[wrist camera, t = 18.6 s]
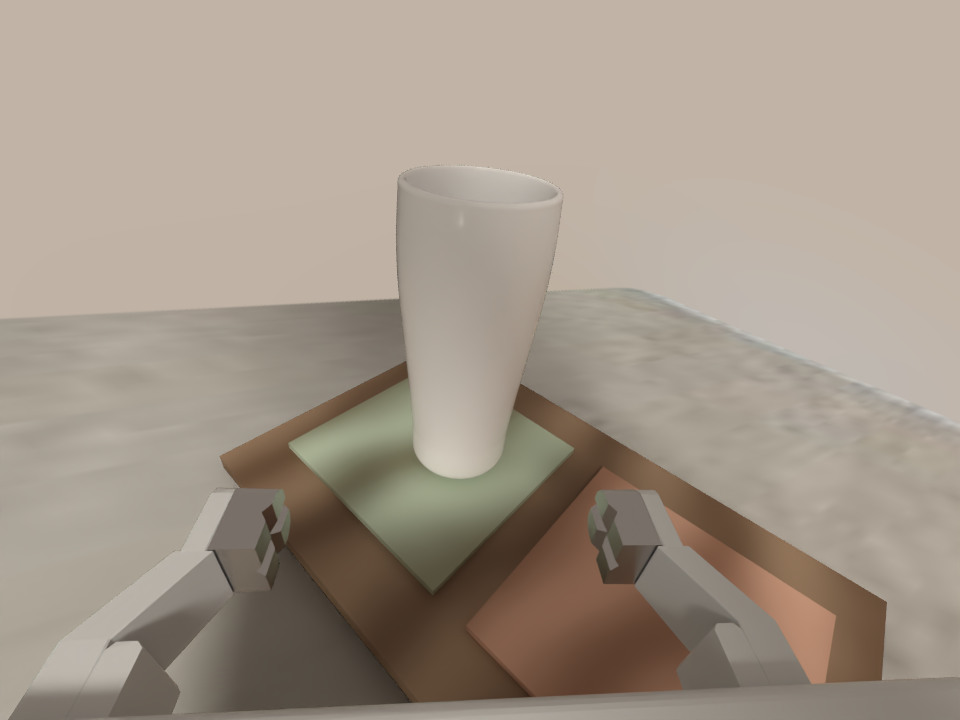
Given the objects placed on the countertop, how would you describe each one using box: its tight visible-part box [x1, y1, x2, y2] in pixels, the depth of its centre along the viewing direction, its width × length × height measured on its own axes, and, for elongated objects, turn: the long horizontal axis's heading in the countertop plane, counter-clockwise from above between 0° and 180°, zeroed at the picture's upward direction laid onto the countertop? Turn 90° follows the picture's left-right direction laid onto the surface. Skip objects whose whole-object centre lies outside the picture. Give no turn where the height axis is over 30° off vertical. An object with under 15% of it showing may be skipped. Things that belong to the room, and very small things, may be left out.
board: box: [220, 361, 887, 703], centre depth 23 cm, size 30×18×1 cm, turn 49°
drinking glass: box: [396, 165, 563, 479], centre depth 21 cm, size 7×7×15 cm
